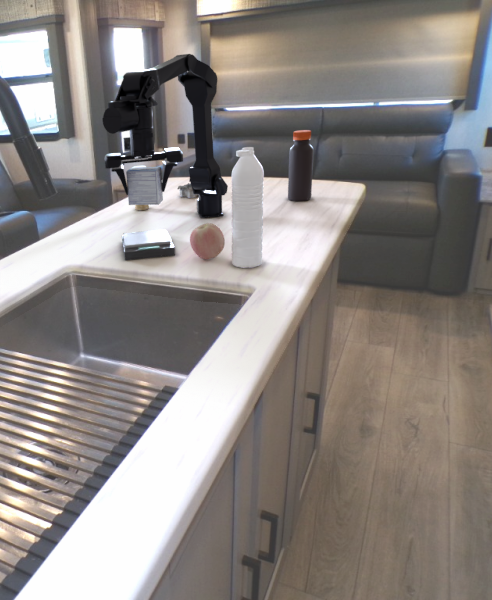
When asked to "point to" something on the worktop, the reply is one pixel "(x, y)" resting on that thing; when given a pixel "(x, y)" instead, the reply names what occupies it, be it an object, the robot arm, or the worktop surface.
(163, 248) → the kitchen scale
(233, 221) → the water bottle
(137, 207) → the sprinkles bottle
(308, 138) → the vinegar
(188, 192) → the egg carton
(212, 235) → the apple
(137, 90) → the robot arm
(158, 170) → the medicine box
